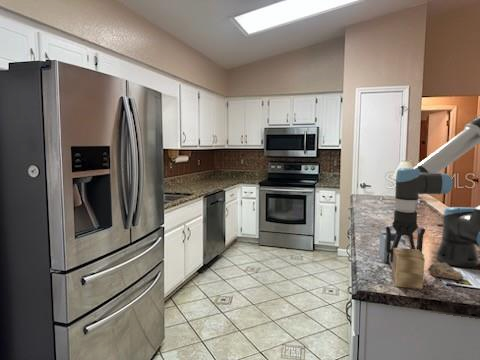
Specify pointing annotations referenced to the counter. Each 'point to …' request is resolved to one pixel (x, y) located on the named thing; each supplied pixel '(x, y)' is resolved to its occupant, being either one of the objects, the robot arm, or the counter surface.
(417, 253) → the cardboard box
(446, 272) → the rock
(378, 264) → the counter surface
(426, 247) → the counter surface
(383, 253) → the grey u-shaped block
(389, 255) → the light grey long block
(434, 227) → the counter surface
